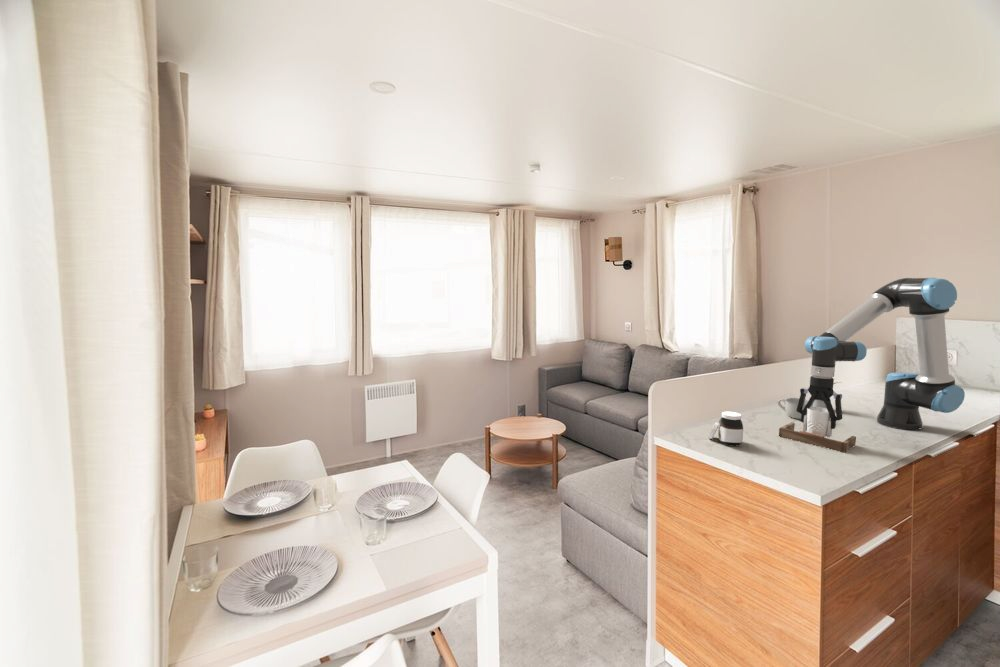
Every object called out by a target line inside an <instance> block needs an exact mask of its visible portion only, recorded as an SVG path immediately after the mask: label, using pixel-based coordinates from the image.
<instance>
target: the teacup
mask: <svg viewBox="0 0 1000 667" xmlns="http://www.w3.org/2000/svg"><path fill="white" fill-rule="evenodd" d="M799 399H800V397H788V398H786V399H785V398H780V399H778V400H777V405H778V406H779V407H780V408H781V409H782V410H783V411H784V412H785V413H786V415H788V416H789V417H790V418H791V417H792V419H794V418H796V419H795V420H800V419H801V413H799V412H797V411H796V410H797V406H798V402H799ZM781 401H782V402H784V405H785V407H784V406H783V405H782V404H781ZM808 401H809V399H806V398H805V401H804V405H803V408H802V410H803V409H804V407H805V406H806V404H807V403H808ZM811 407H813V404H812V406H811ZM806 414H807V413H806Z"/></svg>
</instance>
